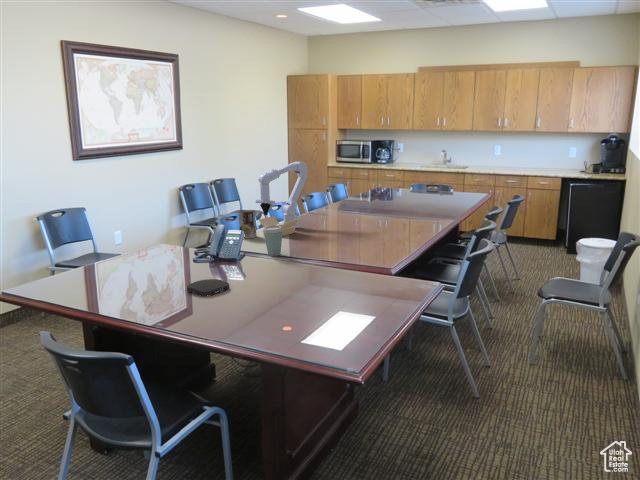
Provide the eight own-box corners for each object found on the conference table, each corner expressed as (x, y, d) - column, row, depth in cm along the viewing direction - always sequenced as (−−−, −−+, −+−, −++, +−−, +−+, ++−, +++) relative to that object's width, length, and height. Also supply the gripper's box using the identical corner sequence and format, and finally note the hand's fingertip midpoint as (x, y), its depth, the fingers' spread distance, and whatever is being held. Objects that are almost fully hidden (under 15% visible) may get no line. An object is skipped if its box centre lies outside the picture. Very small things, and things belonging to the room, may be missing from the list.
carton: (280, 230, 339) (280, 224, 338) (295, 232, 332) (295, 226, 332) (263, 235, 325) (263, 229, 324) (278, 237, 318) (278, 231, 317)
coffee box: (256, 236, 323) (255, 210, 320) (254, 238, 317) (253, 212, 314) (242, 236, 324) (241, 210, 321) (239, 238, 318) (238, 211, 314)
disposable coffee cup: (280, 257, 272) (279, 228, 269) (260, 256, 274) (259, 228, 271) (286, 252, 282) (285, 224, 279) (267, 251, 284) (265, 224, 281)
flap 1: (278, 224, 337) (273, 216, 338) (279, 223, 337) (273, 215, 338) (264, 228, 325) (258, 219, 326) (264, 227, 325) (259, 219, 326)
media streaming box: (211, 283, 232) (210, 276, 231) (233, 289, 222) (232, 282, 222) (183, 291, 221) (182, 284, 220) (205, 298, 211) (205, 291, 211)
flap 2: (294, 225, 330) (299, 218, 327) (294, 225, 330) (299, 219, 327) (279, 229, 318) (284, 222, 315) (280, 230, 318) (285, 222, 315)
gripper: (252, 193, 333) (253, 214, 336) (270, 195, 326) (270, 216, 329) (259, 192, 339) (260, 213, 342) (277, 193, 331) (277, 215, 334)
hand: (265, 215), depth 336 cm, fingers closed
